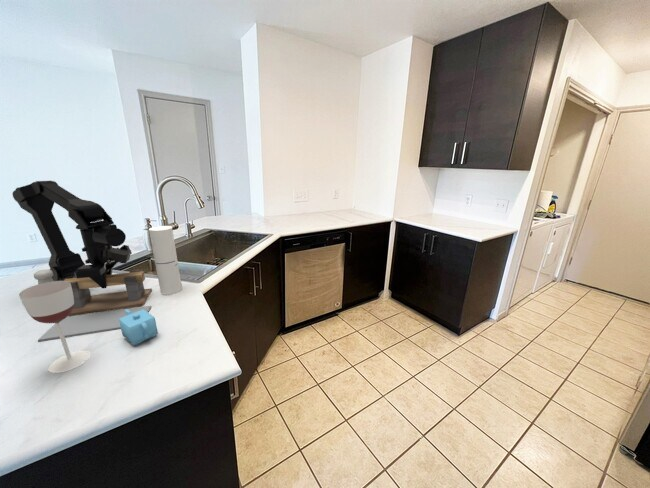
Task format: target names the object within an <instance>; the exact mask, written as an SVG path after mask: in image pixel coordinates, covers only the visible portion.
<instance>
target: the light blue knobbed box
mask: <svg viewBox="0 0 650 488" xmlns="http://www.w3.org/2000/svg"><path fill="white" fill-rule="evenodd" d="M128 309H129V308H127V309H126V310H125V311H126V313H127V316H124V317H122V318H119V323H120V327H121V329H120V330H121V334H122V336H123V337H124V339H126V340H127V341H128V342H129V343H130V344H132V346H137V345H139V344H140V343H142V342H144V341H146V340H148V339H152V338H154V337H155V336H157V335H158V334H159V332H158V327H157V322H156V317H155V316H154V315H152V314H151V313H148V312H147V311H145V310H144V309H142V310H140V311H137V312H135V313H131V312H130V310H128Z"/></svg>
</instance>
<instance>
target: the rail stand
mask: <svg viewBox="0 0 650 488" xmlns="http://www.w3.org/2000/svg"><path fill="white" fill-rule="evenodd" d="M132 272H142V271H141V270H140V269H139V270H138V269H136V270H130V271H129V272H128V273H132ZM73 278H76V277H75V276H74V277H73ZM124 281H125V284H124V285H125V289H126V291H117V292H109V293H101V294H91V291H90V288H87V289H79V286H78V283H77V282H70V283H71V287H72V291H73V297H74V307H73V310H72V312H71V313H70V315H69V316H67V317H72V316H79V315H86V314H94V313H101V312H108V311H115V310H123V309H130V308H137V307H144V305H145V303H146V301H147V300H148V298H149V296H150V295H151V293H152V291H153V289H152V287H151V288H145V286H144V281H143V282H142V283H137V280H136V276H128V277H124Z"/></svg>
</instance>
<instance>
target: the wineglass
mask: <svg viewBox="0 0 650 488" xmlns="http://www.w3.org/2000/svg"><path fill="white" fill-rule="evenodd" d="M18 296H19V298H20V300H21V303H22V305H23V307H24V309H25V311H26V312H27V314H28V316H29V317H31V318H32V319H33V320H35V322H39V323H42V324H56V327H57V330H58V333H59V336H60V338H59V339H60V342H61V344H62V347H63V350H64V353H65V355H63V356H61V357H59V358H57V359H56V360H54V361H53V362H52V363H51V364H50V365H49V367H48V371H49V372H50V373H52V374H53V373H54V374H57V373H65V372H68V371H71V370H72V369H76V368H78V367H80V366H82V365H83V364H84V363H86V362H87V361H88V360H89V359H90V357H91V352H90V351H89V350H76V351H72V352H70V349H69V345H68V342H67V339H66V337H65V336H64V333H63V330H62V327H61V324H60V321H62V320H63V319H65V318H66V317H67V316H68V317H70V316H69V315H70V313H71V312H72V310H73V307H74V297H73V291H72V287H71V283H70V282H68V281H52V282H46V283H42V284H38V283H37V284H35V285H33V286H30V287H27V288H25V289H23V290H21V291H20V292H19V293H18Z"/></svg>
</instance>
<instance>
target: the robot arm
mask: <svg viewBox="0 0 650 488" xmlns="http://www.w3.org/2000/svg"><path fill="white" fill-rule="evenodd" d="M12 198H13V199H14V201H15V202H16V203H17V204H18V206H19V208H21V209H22V210H23V211H26V212H27V213H28V214H30V215H31V216H32V218H33V220H34V222H35V224H36V226H37V229H38V230H39V232H40V234H41V237H42V238H43V241H44V243H45V245H46V246H47V248H48V251H49V253H50V257H49V261H48V266H49V270H52V271H53V276H52V279H53V280H54V281H64V280H65V279H70V278H73V277H74V276H75V277H76V278H77V279H78V278H88V277H89V278H91V279H92V280H93V281H95V282H96V283H97V284H98V285H99V286H100V287H99V288H101V289H107V287H108V286H107V282H106V275H111V274H113V270H114V269H113V268H114V267H115V266H116V265H117V264H118V263H120V264H126V263H128V261H130V259H131V255H132V254H133V253H132V250H131V249H130V246H129V245H126V244H124V243H125V241H126V233H125V232H124V231H123V230H122V229H120V228H118V227H117V224H115V222H114V221H113V218H112V217H111V216H110V214H109V213H107V211H106V210H105V209H104V208H103V206H102V205H101V204H99V203H97V202H95V201H91V200H86V199H82V198H79V197H78V196H76V195H75V194H73V193H72V192H70V191H68V190H67V189H65V188H64V187H62V186H60V185H59V184H58V183H57V182H56V181H55V180H36V181H33V182H32V183H30V184H27V185H23V186H22V185H21V186H20V187H16V188H15V189H14V190H13V191H12ZM55 204H57V205H58V206H59V207H61V208H63V209H64V210H65V211H67V212H68V217H69V219H71V220H72V221H73V222H74V223H76V224H77V225H76V226H75V229H76V230H79V231H80V235H81V238H82V243H83V245H84V247H82V248H81V252H85V254H86V257H87V259H85V260H83V259H82V257H81V255H80V254H79V253H78V252H77V253H76V252H73V251H72V250H71V249H70V247H69V245H68V243H67V241H66V239H65V237H64V235H63V233H62V230H61V228H60V226H59V224H58V222H57V220H56V217H55V215H54V213H53V207H54V205H55ZM120 246H121V247H120ZM119 247H120V248H119Z"/></svg>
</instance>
